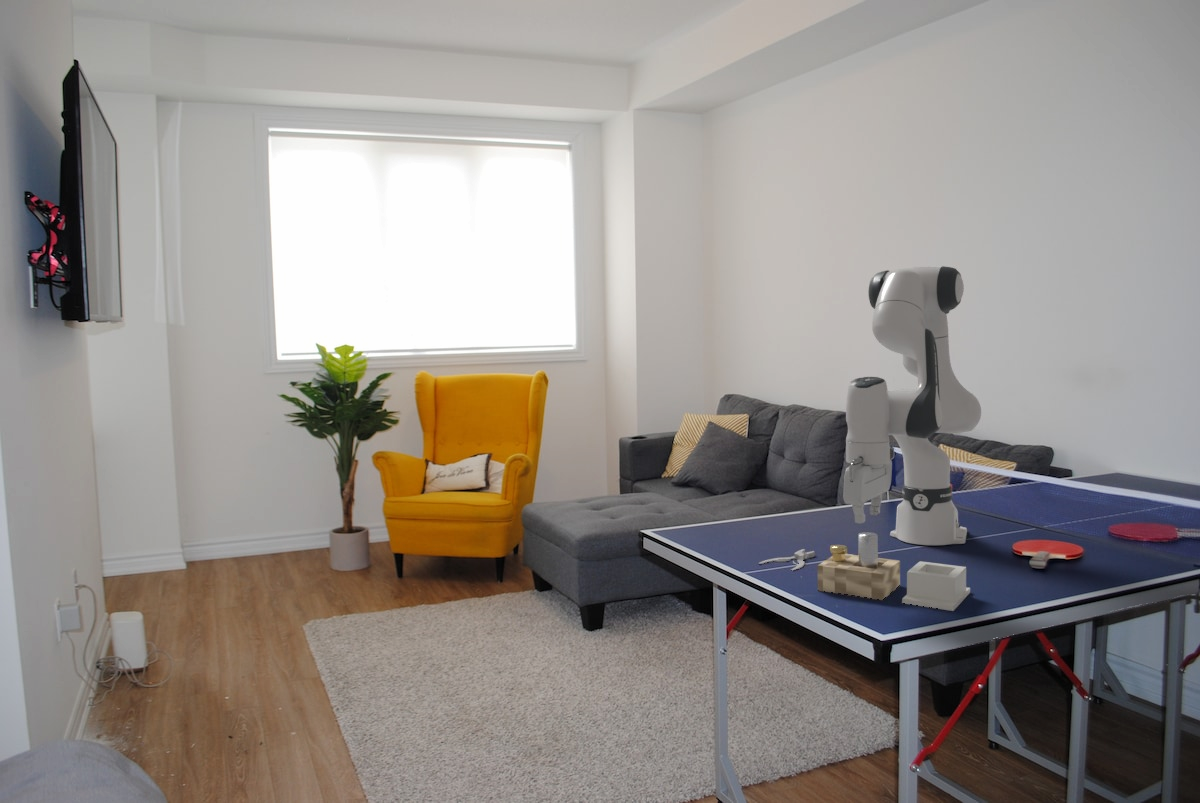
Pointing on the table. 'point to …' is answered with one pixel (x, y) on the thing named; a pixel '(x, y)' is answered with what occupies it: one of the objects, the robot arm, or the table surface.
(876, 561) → the grey rounded cylinder
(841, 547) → the key
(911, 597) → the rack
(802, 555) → the pliers
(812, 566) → the table surface
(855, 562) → the socket block
